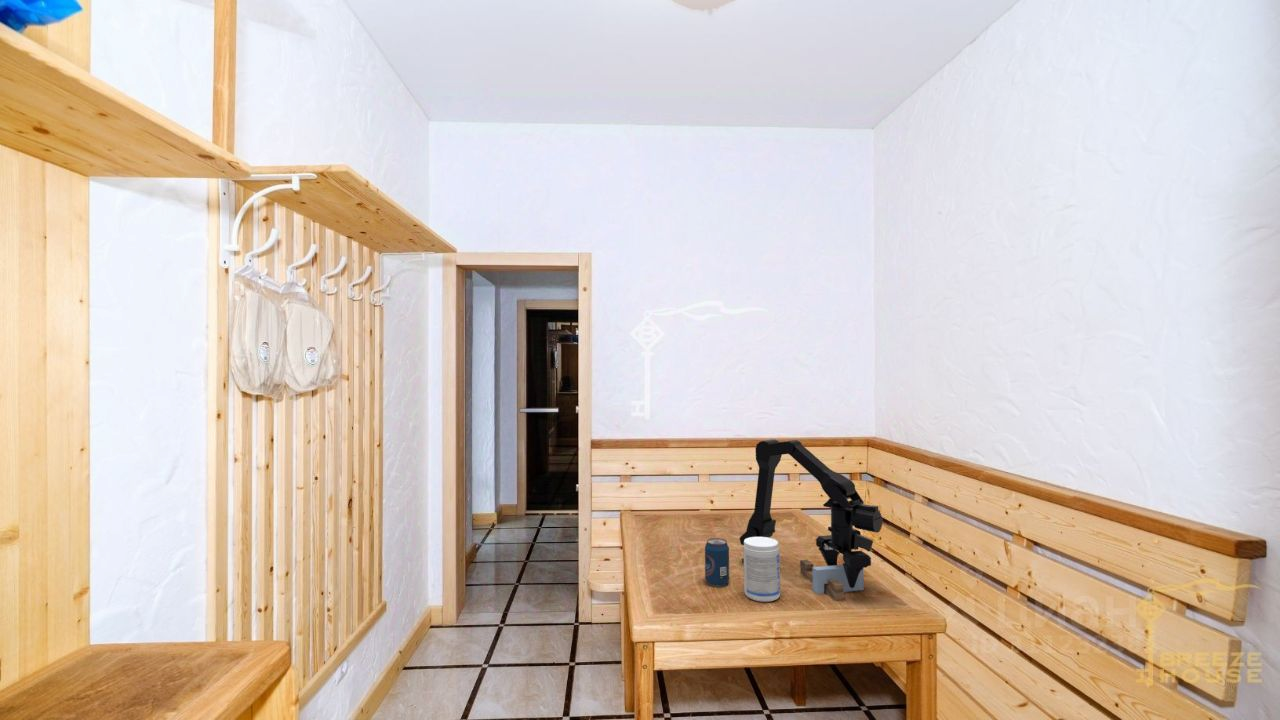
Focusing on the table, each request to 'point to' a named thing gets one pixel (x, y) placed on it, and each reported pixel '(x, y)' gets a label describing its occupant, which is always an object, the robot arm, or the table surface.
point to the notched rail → (831, 588)
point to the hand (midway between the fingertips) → (842, 581)
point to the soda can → (717, 562)
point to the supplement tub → (761, 569)
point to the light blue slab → (834, 572)
